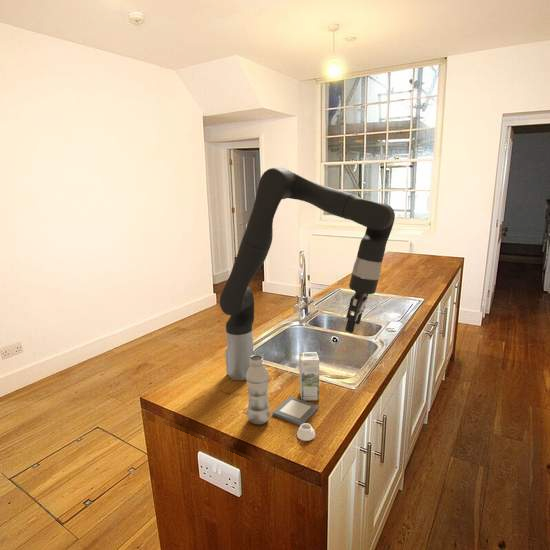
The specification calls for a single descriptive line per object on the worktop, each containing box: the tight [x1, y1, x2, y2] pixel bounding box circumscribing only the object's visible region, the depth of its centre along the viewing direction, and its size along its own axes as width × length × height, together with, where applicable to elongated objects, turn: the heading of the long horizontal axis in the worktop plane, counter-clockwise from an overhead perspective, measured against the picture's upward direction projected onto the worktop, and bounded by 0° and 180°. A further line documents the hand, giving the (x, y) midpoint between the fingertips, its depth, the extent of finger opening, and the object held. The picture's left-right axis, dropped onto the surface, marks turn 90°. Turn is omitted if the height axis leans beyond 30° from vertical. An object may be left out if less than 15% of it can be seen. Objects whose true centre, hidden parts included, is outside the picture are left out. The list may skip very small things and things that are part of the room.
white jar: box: [296, 422, 316, 442], centre depth 104 cm, size 5×3×5 cm
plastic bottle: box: [245, 354, 271, 425], centre depth 109 cm, size 6×7×20 cm
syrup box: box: [298, 351, 320, 402], centre depth 121 cm, size 6×6×14 cm
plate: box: [272, 396, 319, 427], centre depth 115 cm, size 10×10×1 cm
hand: (352, 327), depth 111 cm, fingers open, 8 cm apart
